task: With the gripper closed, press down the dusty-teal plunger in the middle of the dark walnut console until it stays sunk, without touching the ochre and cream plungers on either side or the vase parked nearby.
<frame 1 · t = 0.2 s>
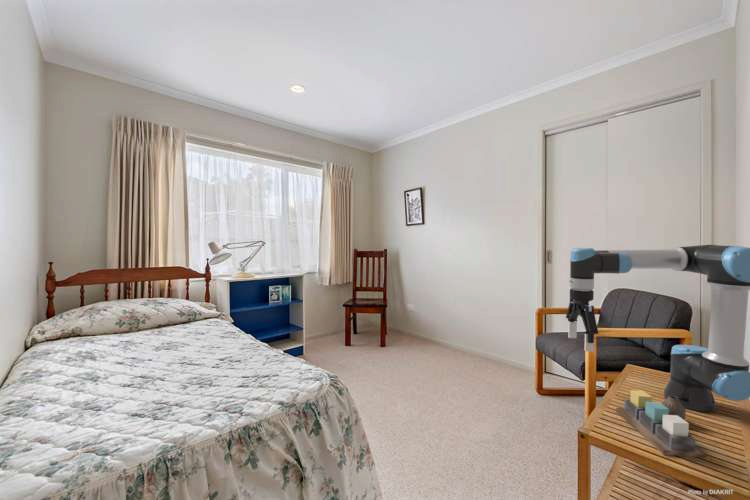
hand: (580, 344, 121), 28 cm above the table, fingers open, 13 cm apart
plunger teal: (656, 412, 111), point 7 cm above the table, slide at 0.0 cm
console: (655, 431, 112), on the table
vase: (672, 420, 119), on the table
plunger cream: (675, 426, 104), point 7 cm above the table, slide at 0.0 cm
plunger ochre: (640, 399, 119), point 7 cm above the table, slide at 0.0 cm
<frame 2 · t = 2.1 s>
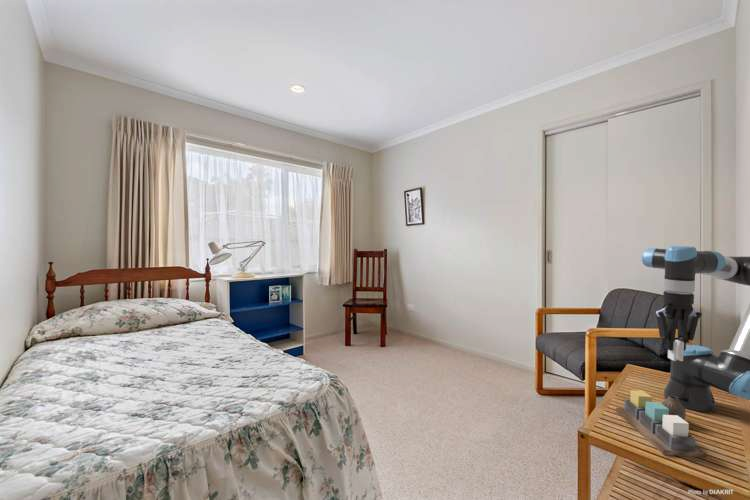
hand: (675, 359, 109), 26 cm above the table, fingers closed
nothing on the table moved.
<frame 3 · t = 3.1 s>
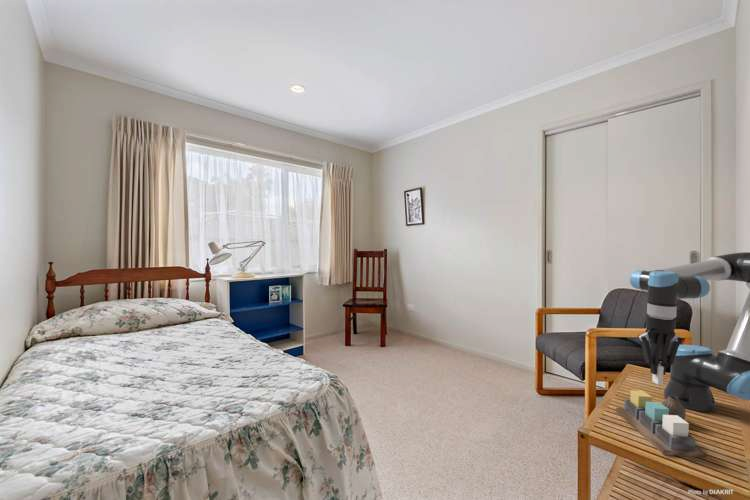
hand: (657, 383, 111), 18 cm above the table, fingers closed
nothing on the table moved.
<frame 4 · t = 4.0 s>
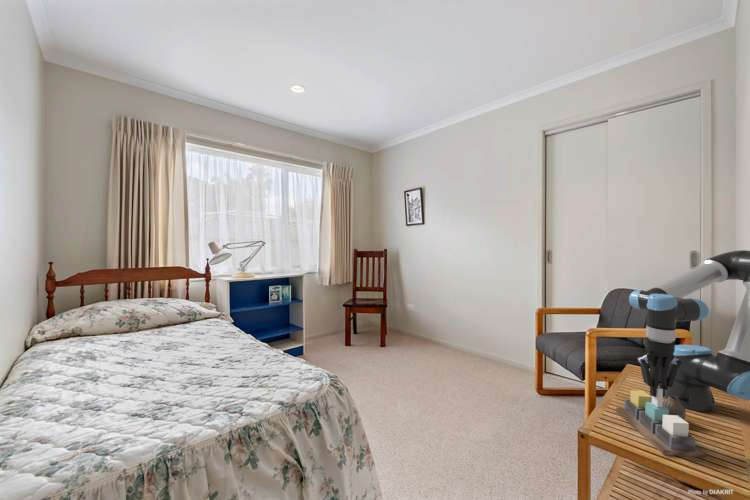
hand: (656, 405, 111), 10 cm above the table, fingers closed
plunger teal: (656, 412, 111), point 7 cm above the table, slide at -0.2 cm, touching gripper
everything else where it was.
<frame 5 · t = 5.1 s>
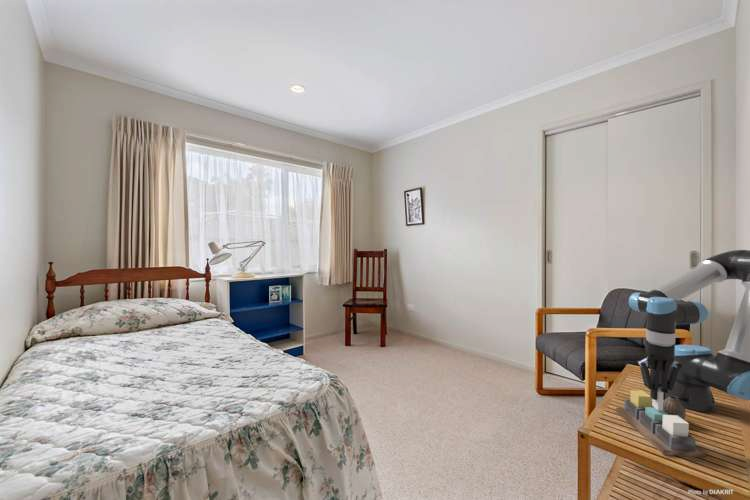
hand: (657, 408, 111), 9 cm above the table, fingers closed
plunger teal: (656, 417, 112), point 5 cm above the table, slide at -2.1 cm
everything else where it was.
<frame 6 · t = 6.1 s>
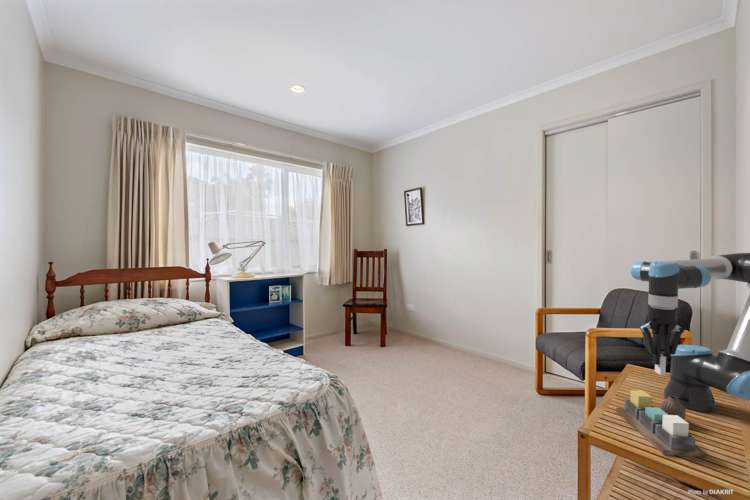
hand: (659, 373, 111), 21 cm above the table, fingers closed
nothing on the table moved.
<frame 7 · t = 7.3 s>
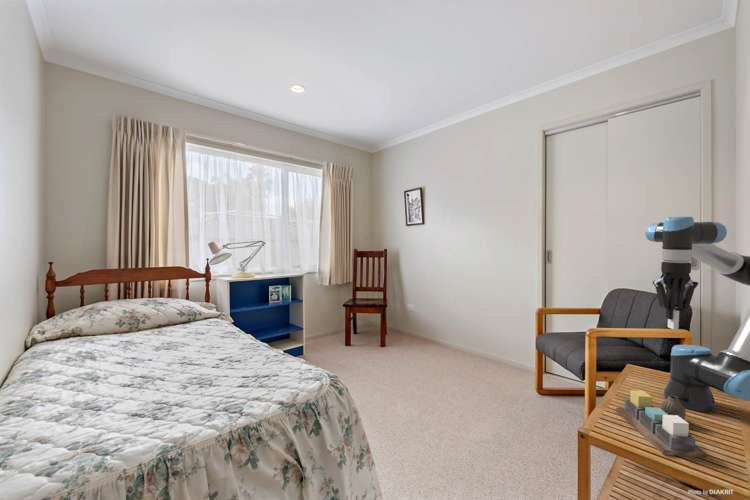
hand: (672, 328, 112), 36 cm above the table, fingers closed
nothing on the table moved.
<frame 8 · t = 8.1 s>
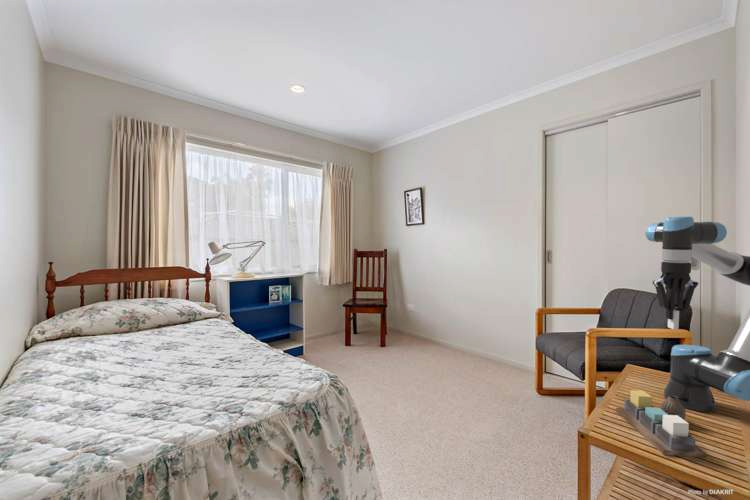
hand: (672, 328, 112), 36 cm above the table, fingers closed
nothing on the table moved.
at the end: plunger teal slide at -2.1 cm; plunger ochre slide at 0.0 cm; plunger cream slide at 0.0 cm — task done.
